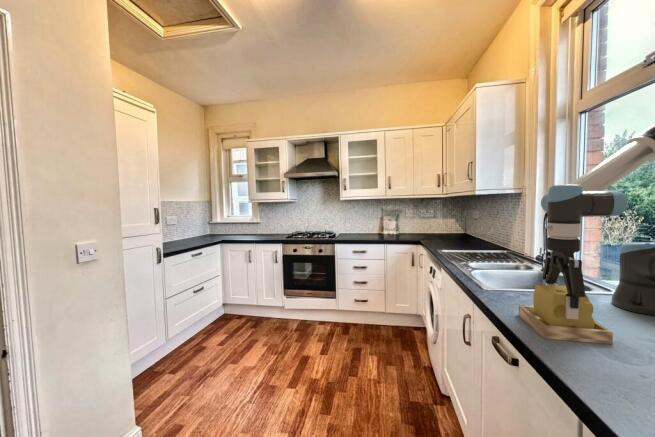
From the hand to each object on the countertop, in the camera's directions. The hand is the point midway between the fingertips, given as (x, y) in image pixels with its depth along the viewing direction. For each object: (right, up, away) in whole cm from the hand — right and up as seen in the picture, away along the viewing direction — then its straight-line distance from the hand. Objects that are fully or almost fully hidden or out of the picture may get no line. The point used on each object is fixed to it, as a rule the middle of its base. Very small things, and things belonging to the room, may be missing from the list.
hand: (560, 311), depth 83 cm
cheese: (0, -4, 0) cm, 4 cm away
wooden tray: (0, -5, 0) cm, 5 cm away
